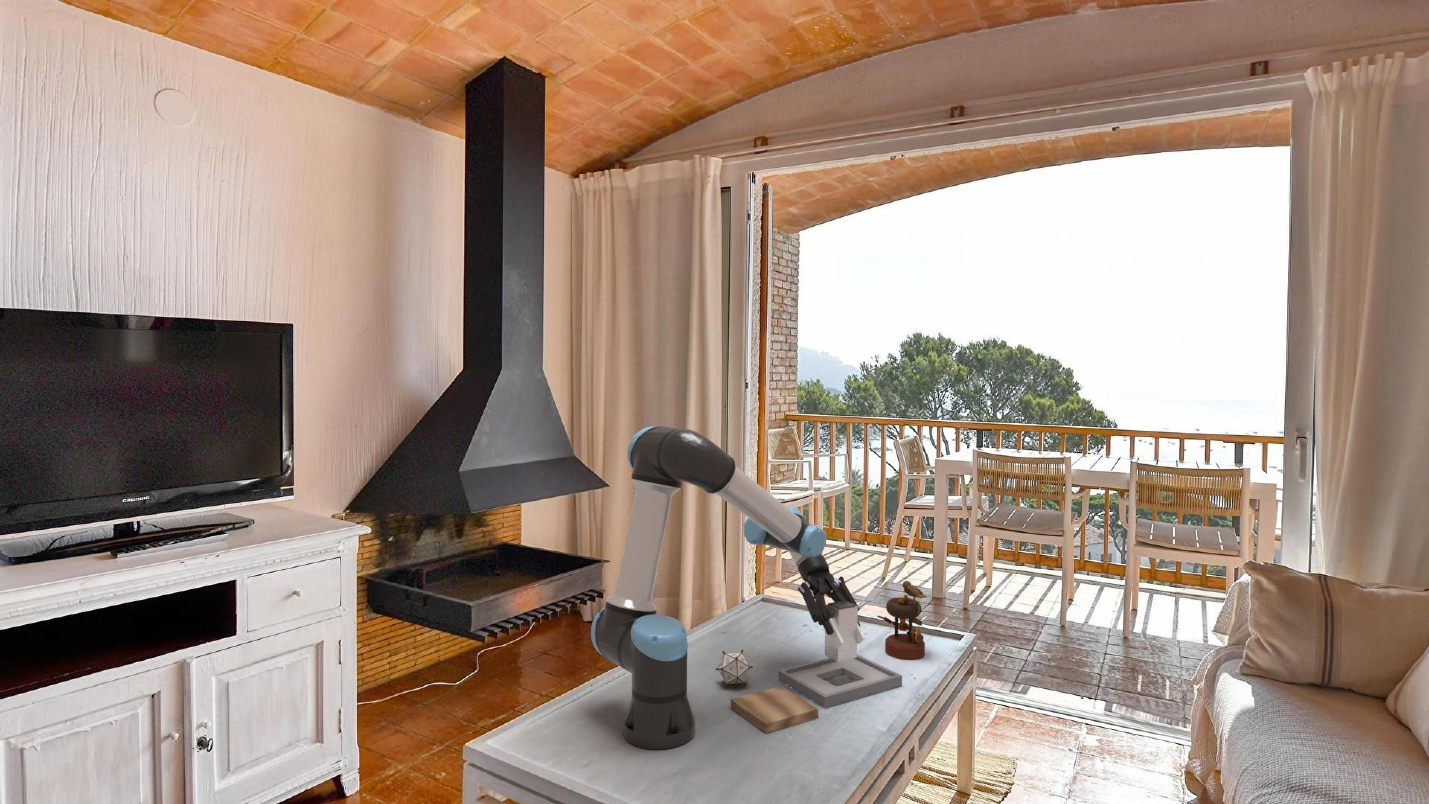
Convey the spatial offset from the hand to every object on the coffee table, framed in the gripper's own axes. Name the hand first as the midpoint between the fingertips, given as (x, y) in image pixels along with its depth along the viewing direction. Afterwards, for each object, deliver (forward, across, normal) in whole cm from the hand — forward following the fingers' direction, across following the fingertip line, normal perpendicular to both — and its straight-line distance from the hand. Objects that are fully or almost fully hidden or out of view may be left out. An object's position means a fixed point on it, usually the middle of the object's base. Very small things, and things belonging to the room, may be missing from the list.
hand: (850, 643), depth 182 cm
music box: (0, -28, -15) cm, 32 cm away
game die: (-3, +23, -20) cm, 30 cm away
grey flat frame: (+5, 0, -10) cm, 11 cm away
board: (+9, +24, -7) cm, 26 cm away
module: (+1, 0, -6) cm, 6 cm away
